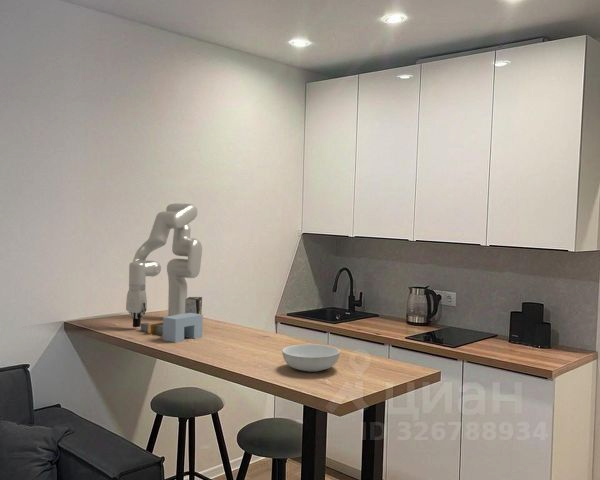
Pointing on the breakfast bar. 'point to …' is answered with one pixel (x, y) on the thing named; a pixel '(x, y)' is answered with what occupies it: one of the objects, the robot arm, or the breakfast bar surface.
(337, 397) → the breakfast bar surface
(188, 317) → the cross-hole block
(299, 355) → the serving bowl
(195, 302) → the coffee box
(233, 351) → the breakfast bar surface
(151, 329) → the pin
